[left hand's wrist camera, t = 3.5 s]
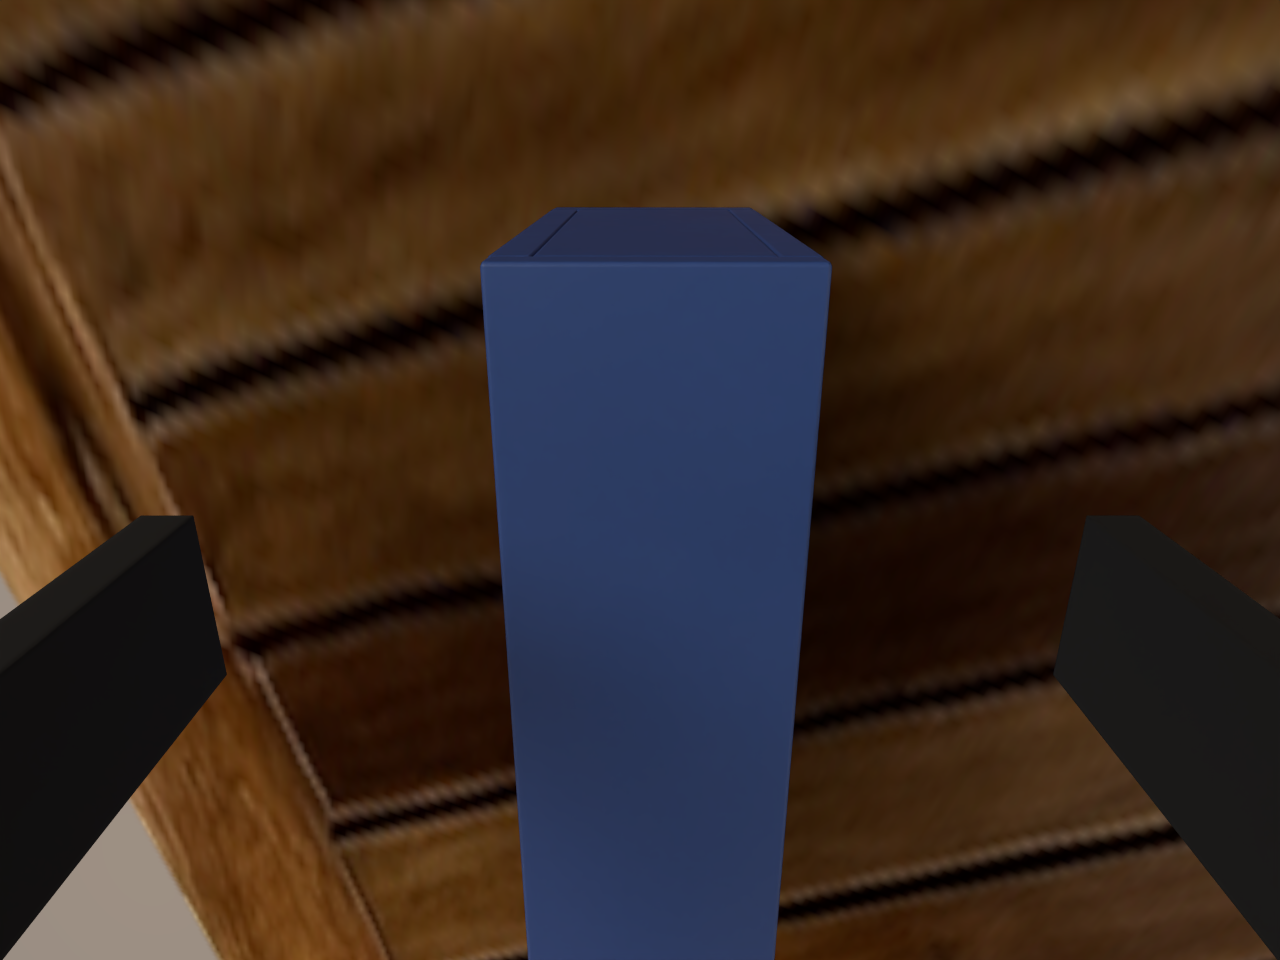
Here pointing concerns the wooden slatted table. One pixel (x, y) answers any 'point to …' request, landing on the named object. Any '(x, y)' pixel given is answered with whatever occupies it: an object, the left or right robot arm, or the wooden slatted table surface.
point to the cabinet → (653, 567)
